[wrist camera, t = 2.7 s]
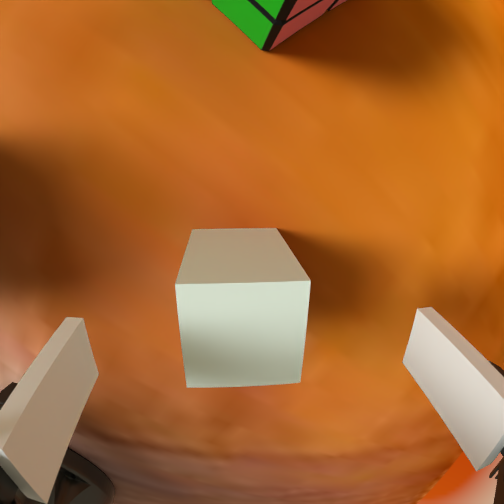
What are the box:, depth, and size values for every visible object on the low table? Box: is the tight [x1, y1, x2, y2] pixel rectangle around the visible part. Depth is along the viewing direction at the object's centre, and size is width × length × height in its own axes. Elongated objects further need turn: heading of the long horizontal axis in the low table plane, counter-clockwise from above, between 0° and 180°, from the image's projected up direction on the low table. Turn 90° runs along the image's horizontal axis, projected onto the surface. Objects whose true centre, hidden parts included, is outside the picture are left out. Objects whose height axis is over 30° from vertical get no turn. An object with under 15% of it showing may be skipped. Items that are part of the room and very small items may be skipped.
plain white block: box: [175, 228, 311, 387], centre depth 16 cm, size 5×5×8 cm
